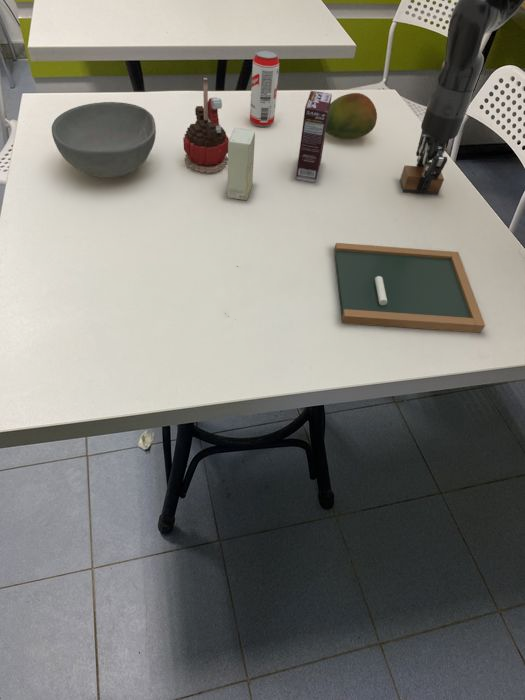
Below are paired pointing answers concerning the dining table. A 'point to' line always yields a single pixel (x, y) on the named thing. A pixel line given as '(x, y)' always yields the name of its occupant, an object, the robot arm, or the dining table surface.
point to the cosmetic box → (240, 163)
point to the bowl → (105, 137)
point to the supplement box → (313, 135)
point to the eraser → (418, 180)
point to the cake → (206, 137)
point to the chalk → (380, 290)
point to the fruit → (351, 116)
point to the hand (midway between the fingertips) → (419, 185)
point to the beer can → (264, 87)
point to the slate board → (405, 288)
